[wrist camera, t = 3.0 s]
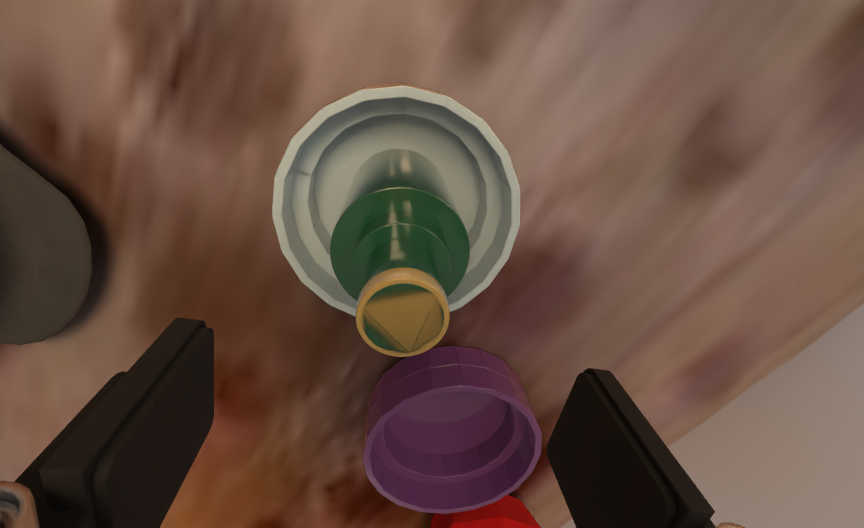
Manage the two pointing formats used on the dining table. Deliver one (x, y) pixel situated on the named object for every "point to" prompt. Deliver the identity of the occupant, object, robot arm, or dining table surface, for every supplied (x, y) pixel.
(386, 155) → the bottle
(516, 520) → the apple
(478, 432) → the plum bowl
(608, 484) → the robot arm
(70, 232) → the casserole
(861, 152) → the dining table surface
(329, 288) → the pale bowl
